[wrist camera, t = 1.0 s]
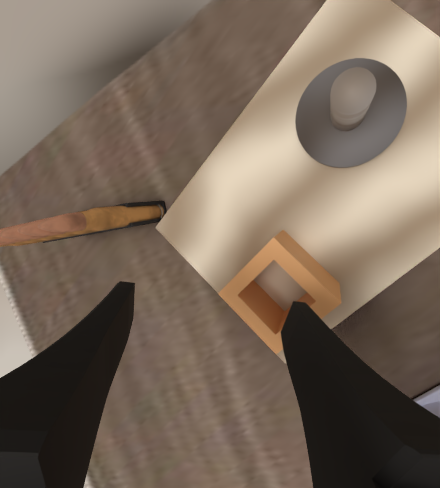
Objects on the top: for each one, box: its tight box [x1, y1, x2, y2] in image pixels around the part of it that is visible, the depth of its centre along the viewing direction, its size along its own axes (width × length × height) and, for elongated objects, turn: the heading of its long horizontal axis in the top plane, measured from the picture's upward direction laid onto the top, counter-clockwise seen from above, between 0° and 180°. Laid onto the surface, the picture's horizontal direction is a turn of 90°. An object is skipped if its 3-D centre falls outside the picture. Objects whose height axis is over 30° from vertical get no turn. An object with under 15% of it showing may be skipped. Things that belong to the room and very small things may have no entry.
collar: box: [218, 230, 341, 354], centre depth 20 cm, size 6×6×4 cm
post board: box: [155, 0, 440, 364], centre depth 18 cm, size 16×22×7 cm
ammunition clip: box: [0, 201, 166, 247], centre depth 23 cm, size 11×2×12 cm, turn 102°
